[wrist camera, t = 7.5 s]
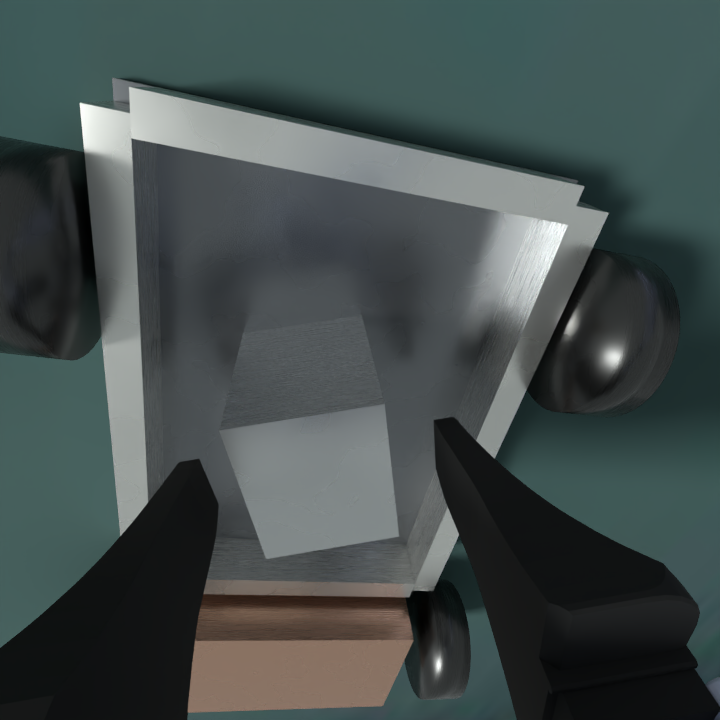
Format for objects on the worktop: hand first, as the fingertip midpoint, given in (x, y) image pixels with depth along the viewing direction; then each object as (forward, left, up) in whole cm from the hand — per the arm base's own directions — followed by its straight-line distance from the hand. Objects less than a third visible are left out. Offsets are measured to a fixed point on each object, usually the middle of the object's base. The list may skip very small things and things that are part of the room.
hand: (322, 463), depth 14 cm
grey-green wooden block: (0, -1, -3) cm, 3 cm away
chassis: (0, +3, -4) cm, 5 cm away
